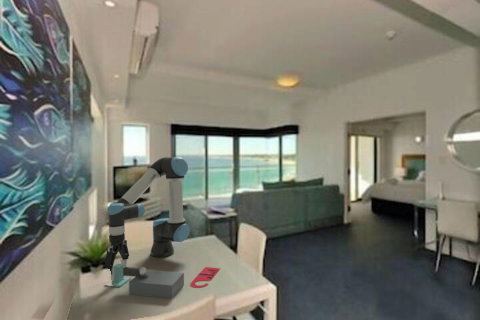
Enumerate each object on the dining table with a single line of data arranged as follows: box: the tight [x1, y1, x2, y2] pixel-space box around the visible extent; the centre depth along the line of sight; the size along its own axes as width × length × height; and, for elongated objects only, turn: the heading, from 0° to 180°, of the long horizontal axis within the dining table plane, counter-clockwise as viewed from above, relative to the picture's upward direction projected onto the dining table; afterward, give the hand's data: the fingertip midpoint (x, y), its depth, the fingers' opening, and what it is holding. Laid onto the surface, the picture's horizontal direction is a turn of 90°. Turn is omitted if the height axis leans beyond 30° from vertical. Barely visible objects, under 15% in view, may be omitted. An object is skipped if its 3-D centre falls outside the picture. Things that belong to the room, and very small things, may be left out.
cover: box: [112, 263, 132, 288], centre depth 146 cm, size 9×9×10 cm
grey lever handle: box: [123, 266, 147, 278], centre depth 139 cm, size 12×3×4 cm, turn 81°
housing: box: [128, 269, 185, 299], centre depth 138 cm, size 14×22×6 cm, turn 79°
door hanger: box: [190, 266, 221, 289], centre depth 151 cm, size 9×1×25 cm
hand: (117, 275), depth 146 cm, fingers open, 10 cm apart
